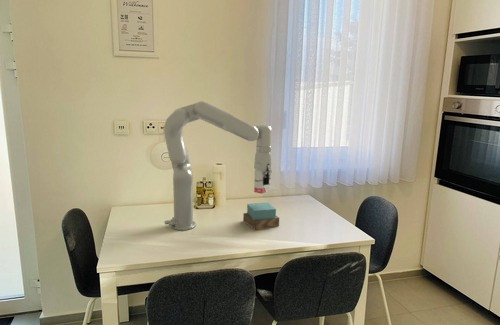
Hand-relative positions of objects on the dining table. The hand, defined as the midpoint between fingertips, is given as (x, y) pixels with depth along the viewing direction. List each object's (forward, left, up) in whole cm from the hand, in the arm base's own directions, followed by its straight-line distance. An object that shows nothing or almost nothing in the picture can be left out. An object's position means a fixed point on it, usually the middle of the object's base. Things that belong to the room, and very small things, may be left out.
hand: (262, 182), depth 195 cm
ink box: (0, 0, -5) cm, 5 cm away
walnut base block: (-1, 0, -23) cm, 23 cm away
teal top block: (0, 0, -18) cm, 18 cm away
